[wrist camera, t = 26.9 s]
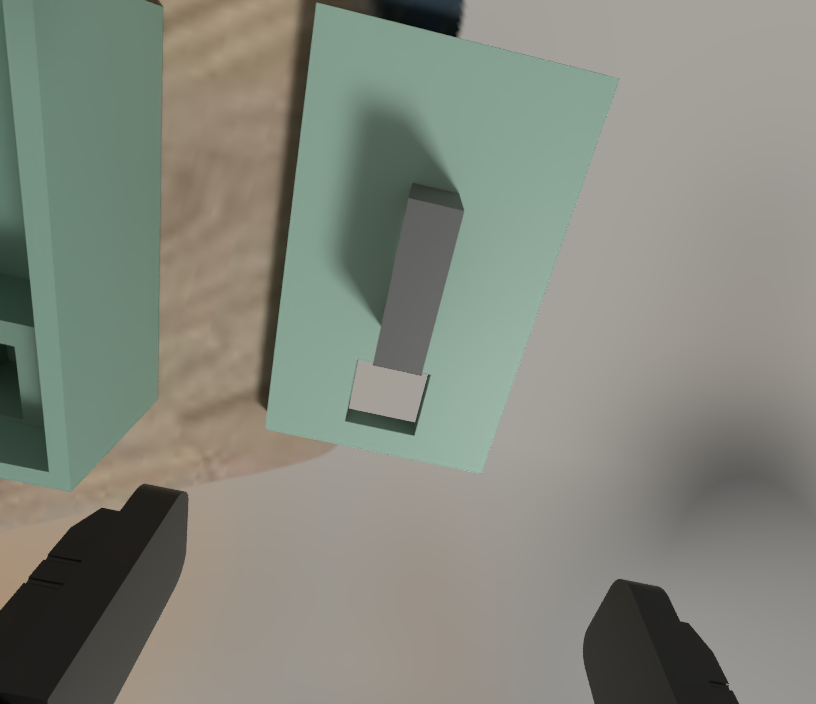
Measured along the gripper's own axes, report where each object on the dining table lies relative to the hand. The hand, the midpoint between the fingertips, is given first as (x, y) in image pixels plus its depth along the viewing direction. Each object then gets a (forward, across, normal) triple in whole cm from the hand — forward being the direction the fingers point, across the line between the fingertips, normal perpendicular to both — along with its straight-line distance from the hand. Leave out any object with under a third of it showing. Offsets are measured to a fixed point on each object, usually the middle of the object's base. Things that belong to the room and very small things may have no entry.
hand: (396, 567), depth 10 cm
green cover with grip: (+22, 0, +1) cm, 22 cm away
